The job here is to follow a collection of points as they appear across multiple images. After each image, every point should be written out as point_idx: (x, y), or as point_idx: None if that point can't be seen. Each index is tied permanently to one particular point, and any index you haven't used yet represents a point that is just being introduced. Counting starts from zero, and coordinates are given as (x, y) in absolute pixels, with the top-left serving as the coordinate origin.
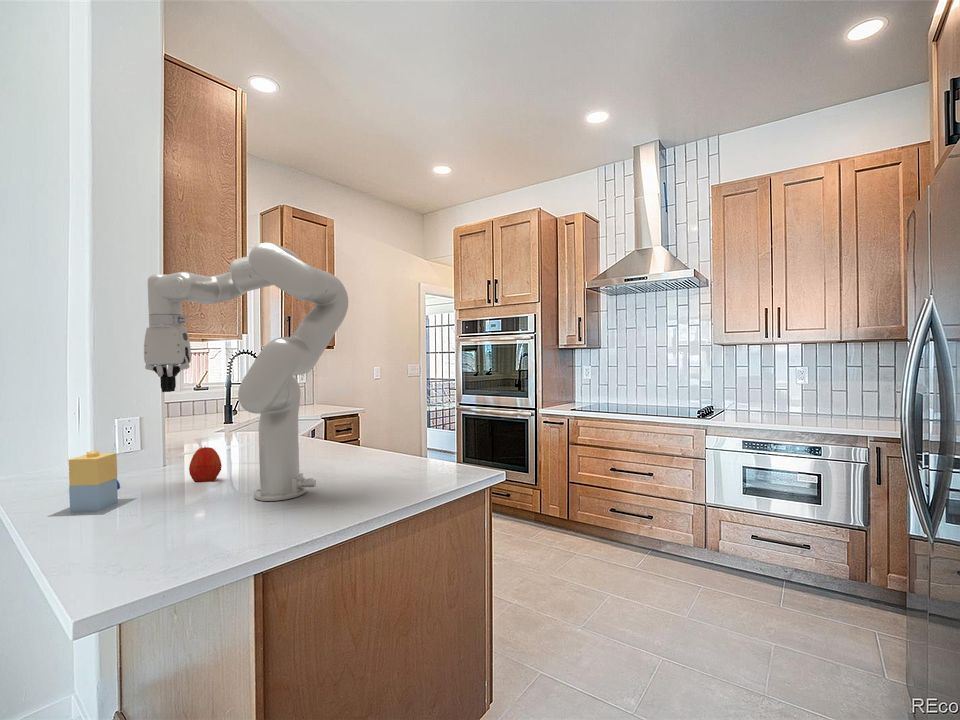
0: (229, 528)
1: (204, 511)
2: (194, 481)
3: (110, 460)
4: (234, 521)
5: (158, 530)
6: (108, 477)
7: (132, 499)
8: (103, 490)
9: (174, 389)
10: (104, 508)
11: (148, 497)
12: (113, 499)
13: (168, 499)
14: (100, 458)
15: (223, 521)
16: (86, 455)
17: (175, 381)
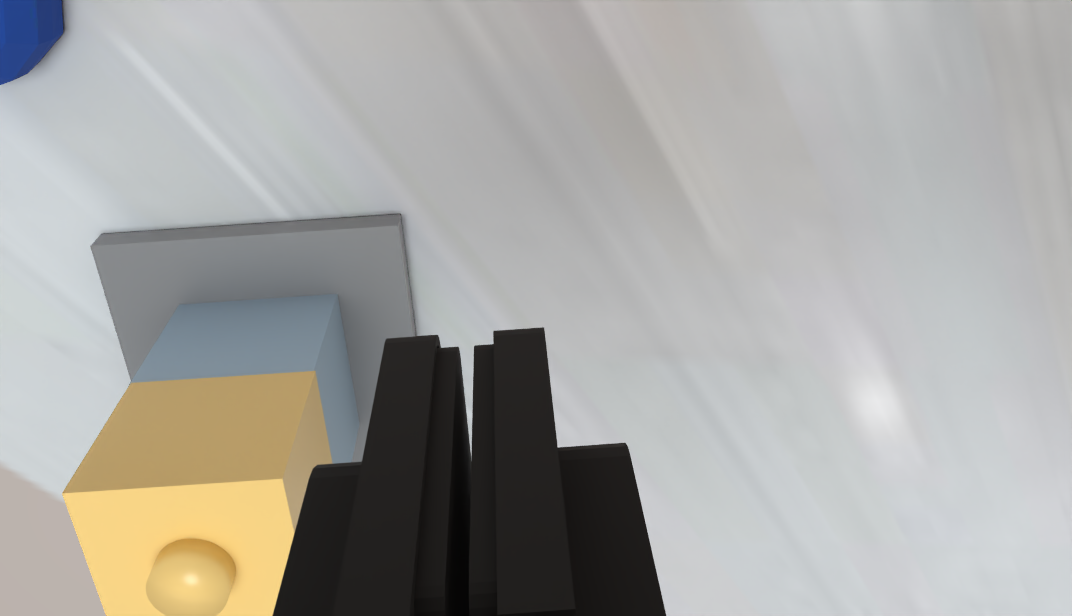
0: (1063, 552)
1: (878, 363)
2: None
3: (301, 505)
4: (1065, 486)
5: (780, 565)
6: (324, 454)
7: (387, 248)
8: (340, 450)
9: (544, 347)
10: (357, 393)
11: (380, 95)
12: (339, 339)
13: (552, 148)
14: None
15: (1017, 485)
16: (105, 541)
17: (650, 550)
